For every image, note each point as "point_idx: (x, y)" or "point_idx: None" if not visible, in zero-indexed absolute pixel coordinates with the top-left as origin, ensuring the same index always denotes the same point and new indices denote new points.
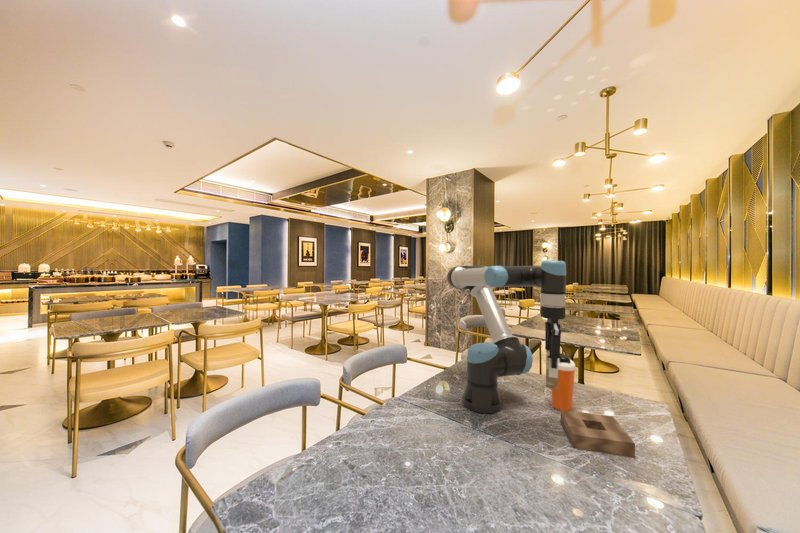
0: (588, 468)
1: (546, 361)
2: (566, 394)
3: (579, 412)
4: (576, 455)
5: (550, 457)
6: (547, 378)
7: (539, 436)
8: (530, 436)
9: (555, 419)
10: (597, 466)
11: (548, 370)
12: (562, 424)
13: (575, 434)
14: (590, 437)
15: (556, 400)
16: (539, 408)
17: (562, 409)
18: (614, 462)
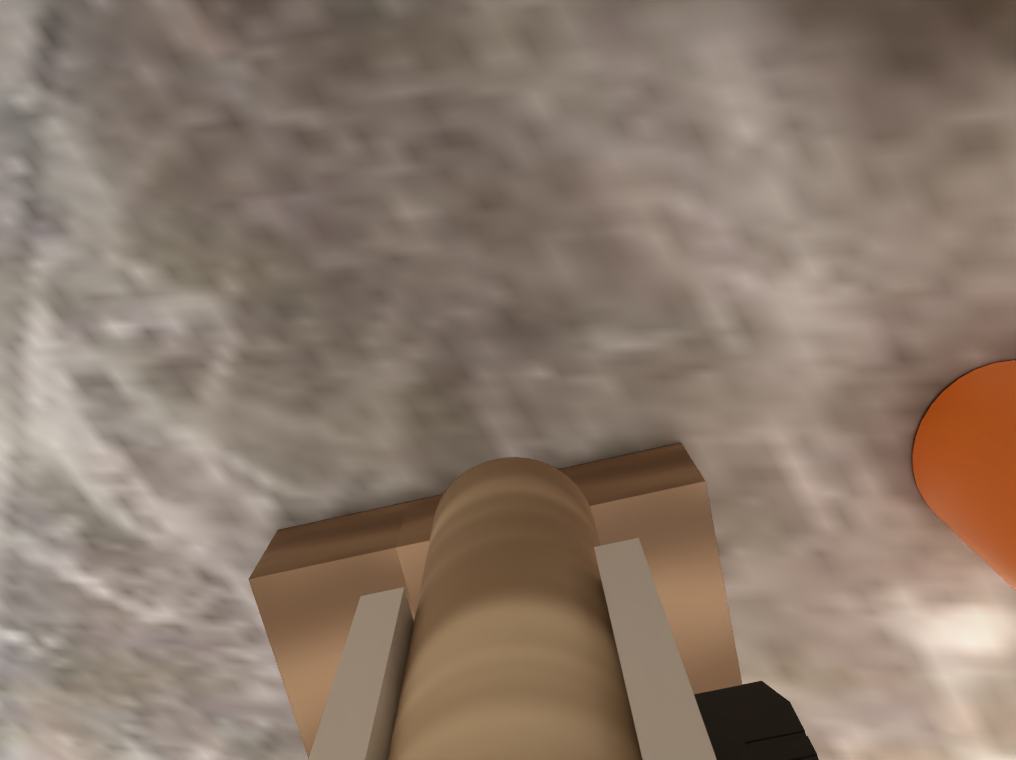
0: (66, 611)
1: (467, 722)
2: (1001, 562)
3: (726, 634)
4: (181, 549)
5: (36, 388)
6: (449, 542)
7: (299, 292)
8: (254, 221)
9: (692, 402)
10: (127, 660)
11: (419, 645)
12: (607, 461)
13: (257, 595)
14: (289, 690)
15: (971, 430)
16: (871, 251)
17: (914, 459)
18: (243, 751)
